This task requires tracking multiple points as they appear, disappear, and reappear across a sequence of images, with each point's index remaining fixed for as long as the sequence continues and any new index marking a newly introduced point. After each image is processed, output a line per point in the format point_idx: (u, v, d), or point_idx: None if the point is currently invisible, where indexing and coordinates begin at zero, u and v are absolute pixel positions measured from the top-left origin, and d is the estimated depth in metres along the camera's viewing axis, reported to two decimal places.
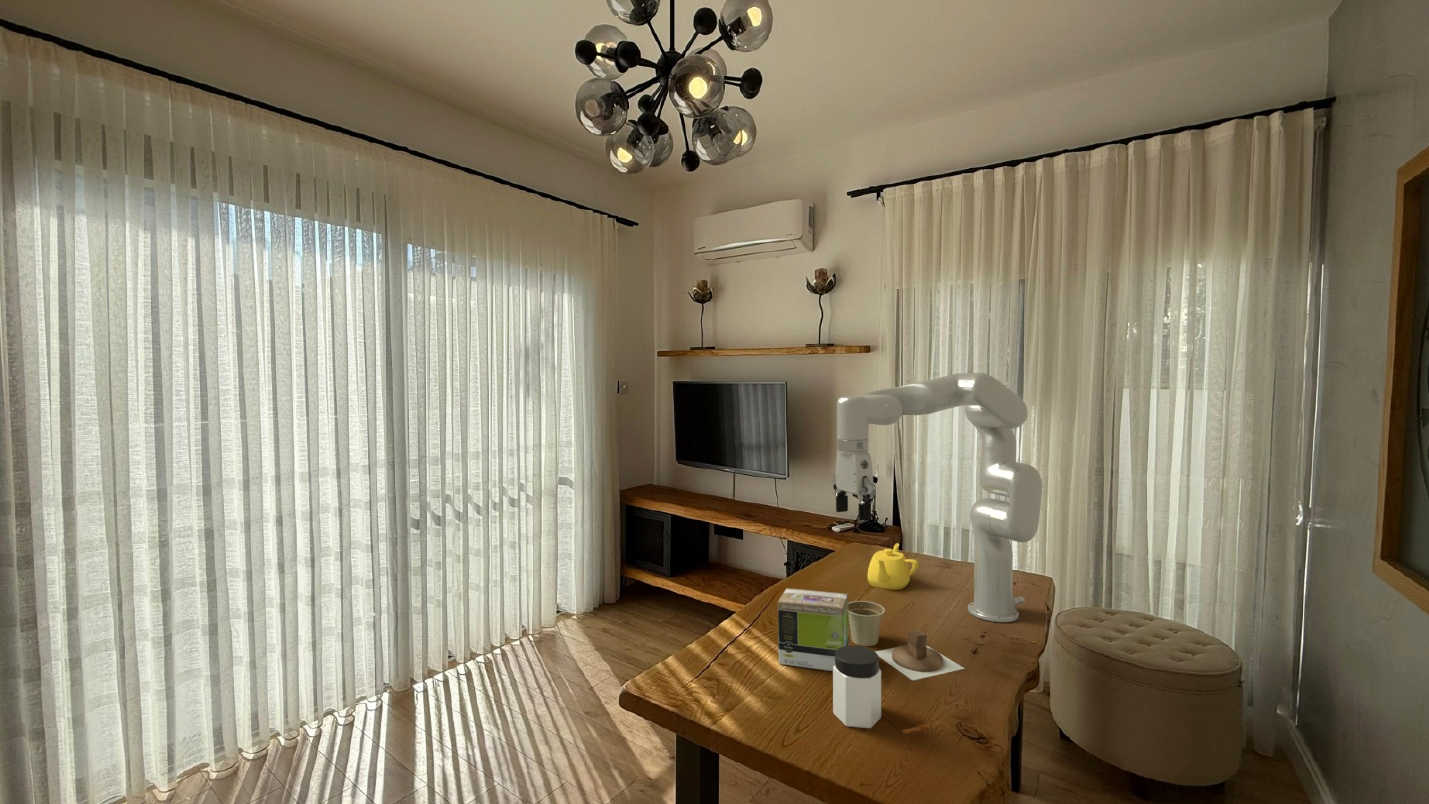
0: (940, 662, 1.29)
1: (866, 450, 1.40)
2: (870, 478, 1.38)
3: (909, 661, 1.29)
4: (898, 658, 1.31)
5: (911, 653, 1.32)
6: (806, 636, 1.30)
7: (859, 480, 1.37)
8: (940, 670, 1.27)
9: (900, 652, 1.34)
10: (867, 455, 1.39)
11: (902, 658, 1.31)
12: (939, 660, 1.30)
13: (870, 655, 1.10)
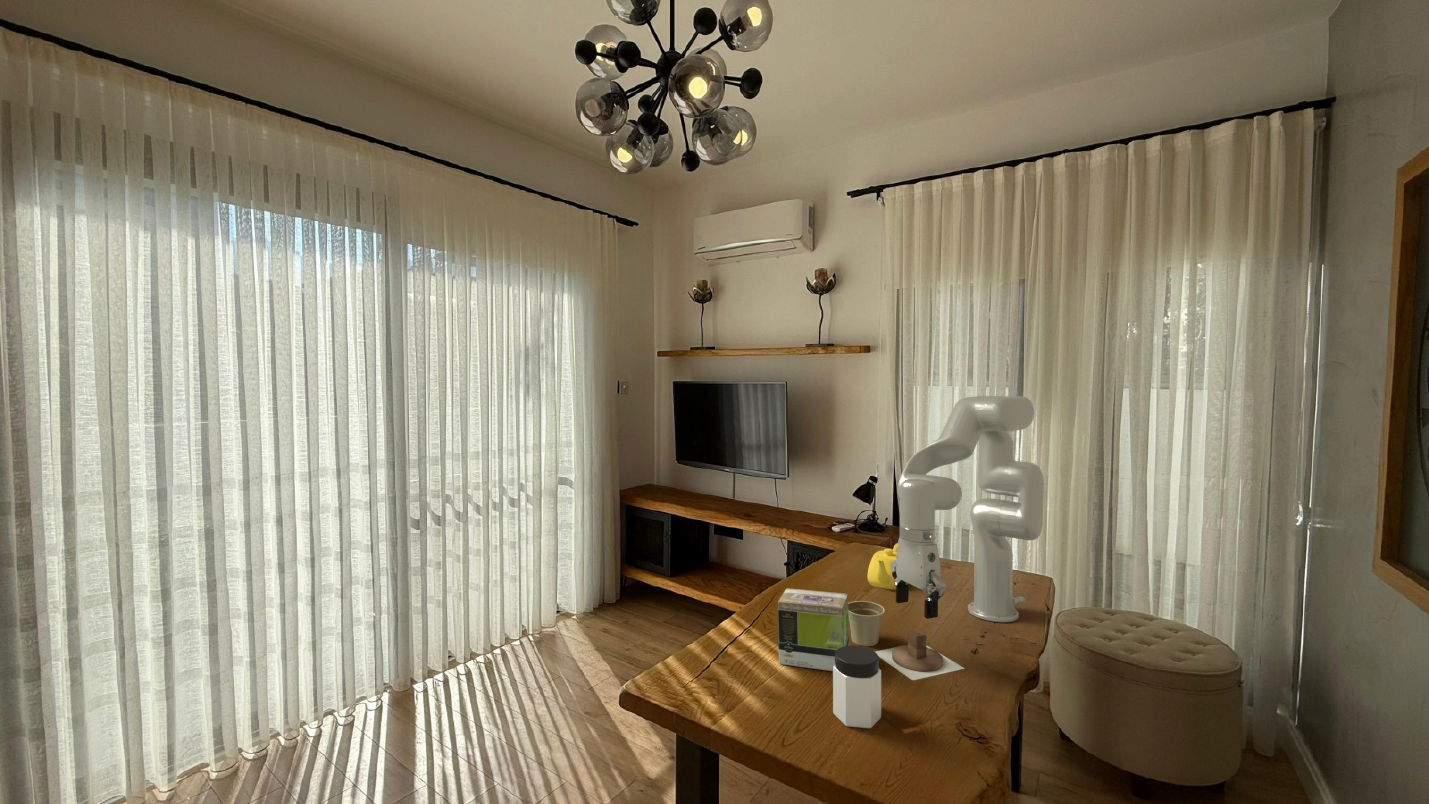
0: (940, 662, 1.29)
1: (933, 540, 1.29)
2: (937, 572, 1.27)
3: (909, 661, 1.29)
4: (898, 658, 1.31)
5: (911, 653, 1.32)
6: (806, 636, 1.30)
7: (926, 574, 1.26)
8: (940, 670, 1.27)
9: (900, 652, 1.34)
10: (934, 547, 1.27)
11: (902, 658, 1.31)
12: (939, 660, 1.30)
13: (870, 655, 1.10)
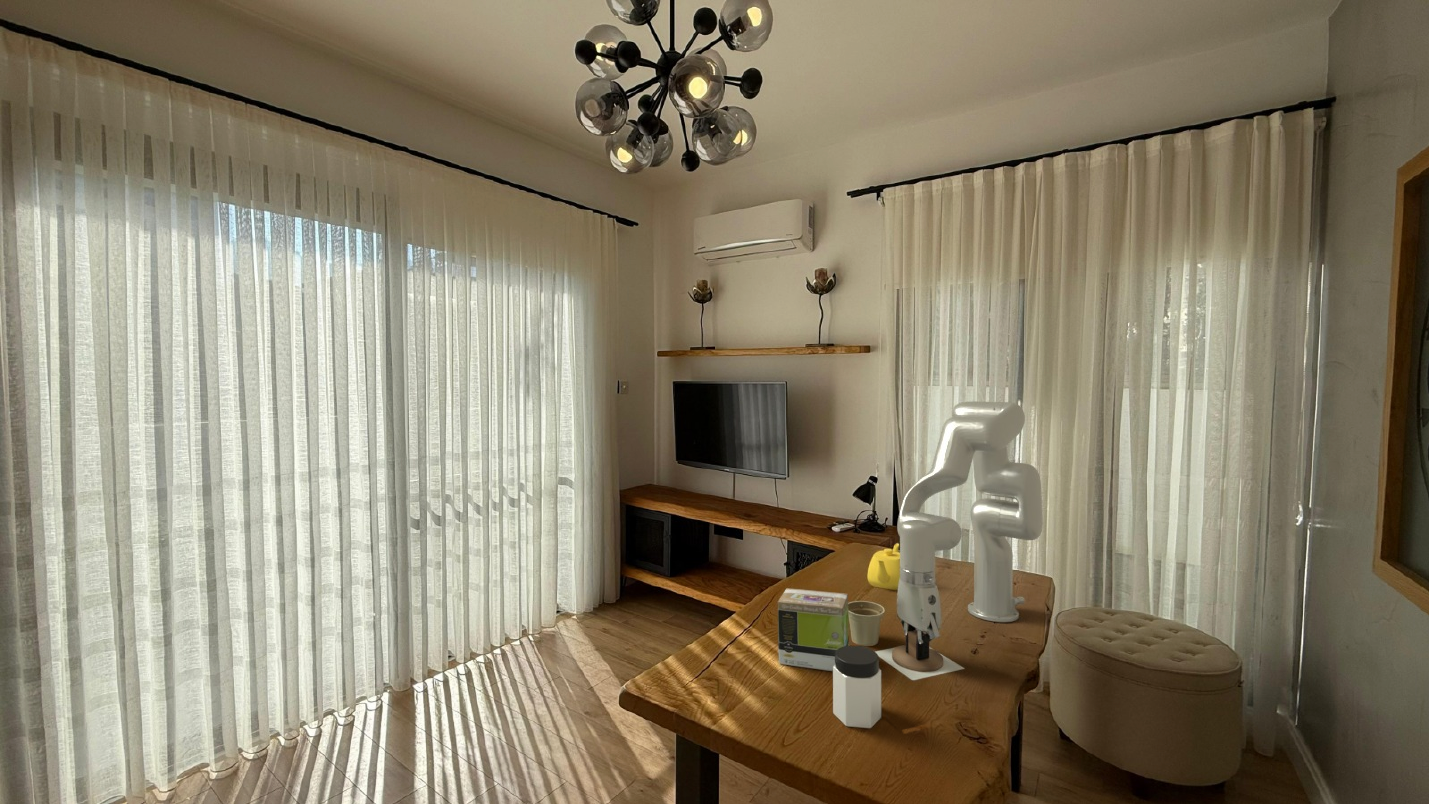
0: (940, 662, 1.29)
1: (933, 582, 1.29)
2: (938, 614, 1.28)
3: (909, 661, 1.29)
4: (898, 658, 1.31)
5: (911, 653, 1.32)
6: (806, 636, 1.30)
7: (927, 617, 1.27)
8: (940, 670, 1.27)
9: (900, 651, 1.34)
10: (935, 589, 1.28)
11: (902, 658, 1.31)
12: (939, 660, 1.30)
13: (870, 655, 1.10)
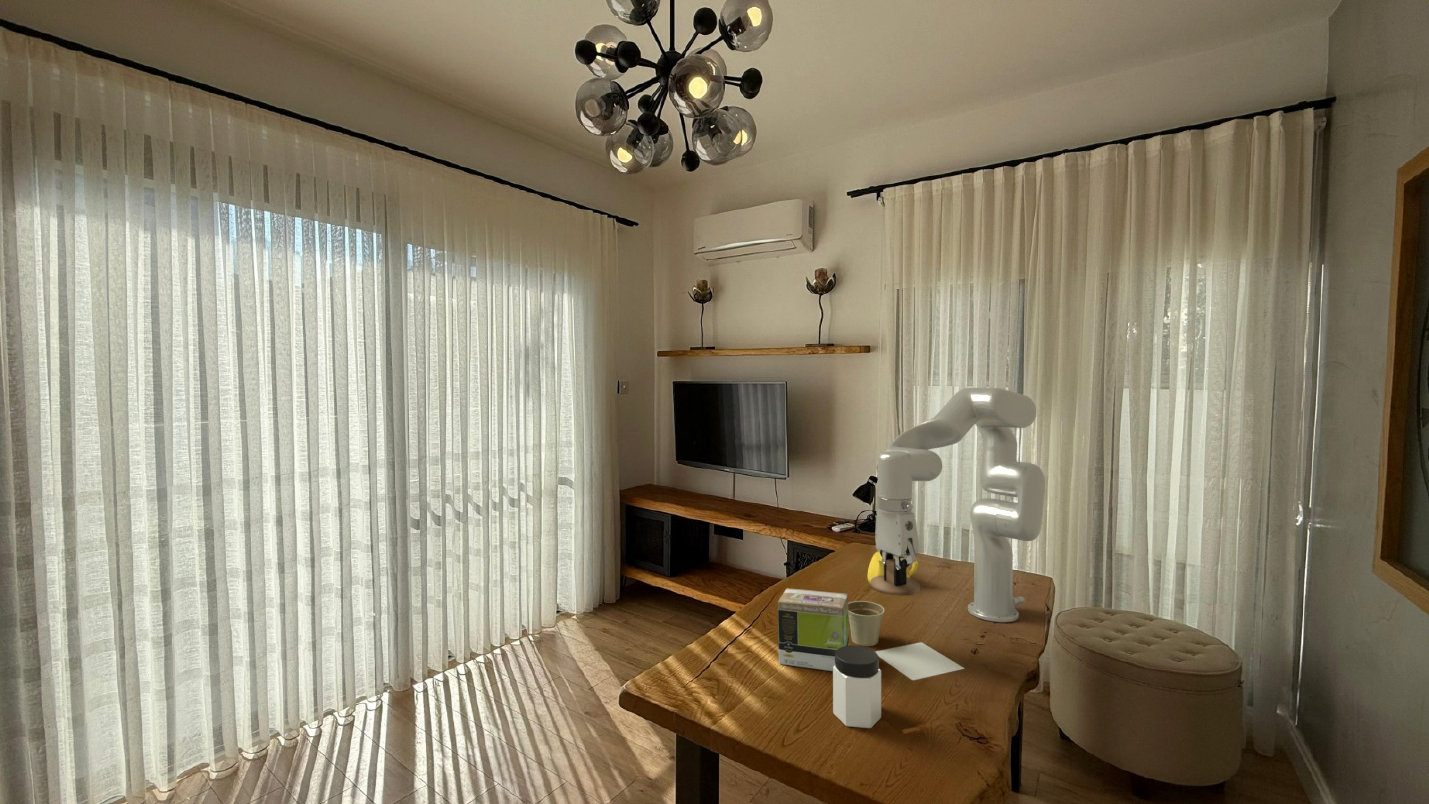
0: (917, 587, 1.33)
1: (910, 510, 1.33)
2: (915, 540, 1.31)
3: (888, 587, 1.33)
4: (877, 585, 1.34)
5: (889, 580, 1.35)
6: (806, 636, 1.30)
7: (904, 542, 1.30)
8: (940, 670, 1.27)
9: (879, 580, 1.38)
10: (912, 515, 1.32)
11: (880, 585, 1.34)
12: (916, 585, 1.34)
13: (870, 655, 1.10)
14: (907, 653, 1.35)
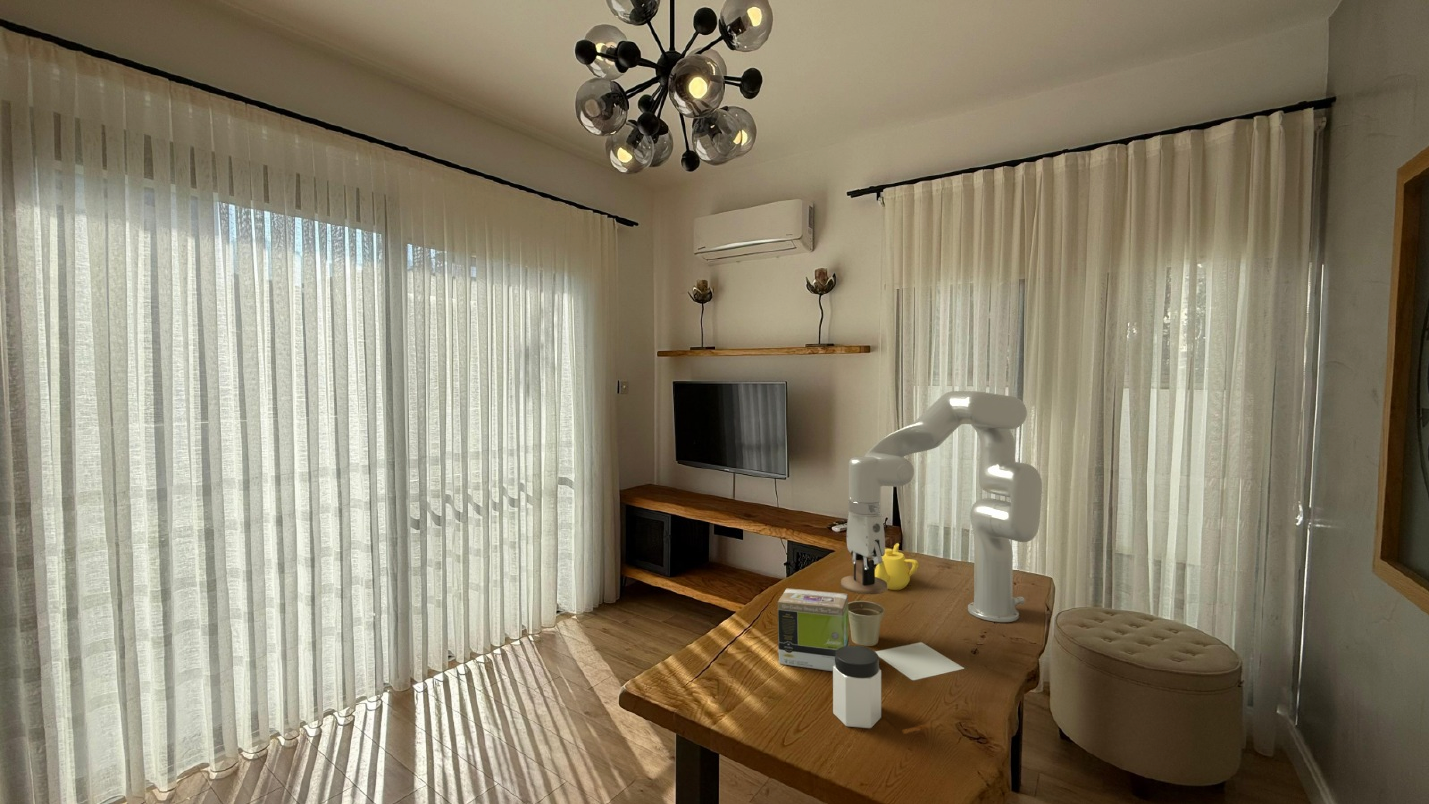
0: (884, 586, 1.39)
1: (878, 513, 1.39)
2: (882, 541, 1.38)
3: (856, 586, 1.39)
4: (845, 584, 1.41)
5: (858, 580, 1.42)
6: (806, 636, 1.30)
7: (871, 544, 1.37)
8: (940, 670, 1.27)
9: (849, 579, 1.44)
10: (879, 518, 1.38)
11: (849, 584, 1.41)
12: (883, 585, 1.40)
13: (870, 655, 1.10)
14: (907, 653, 1.35)
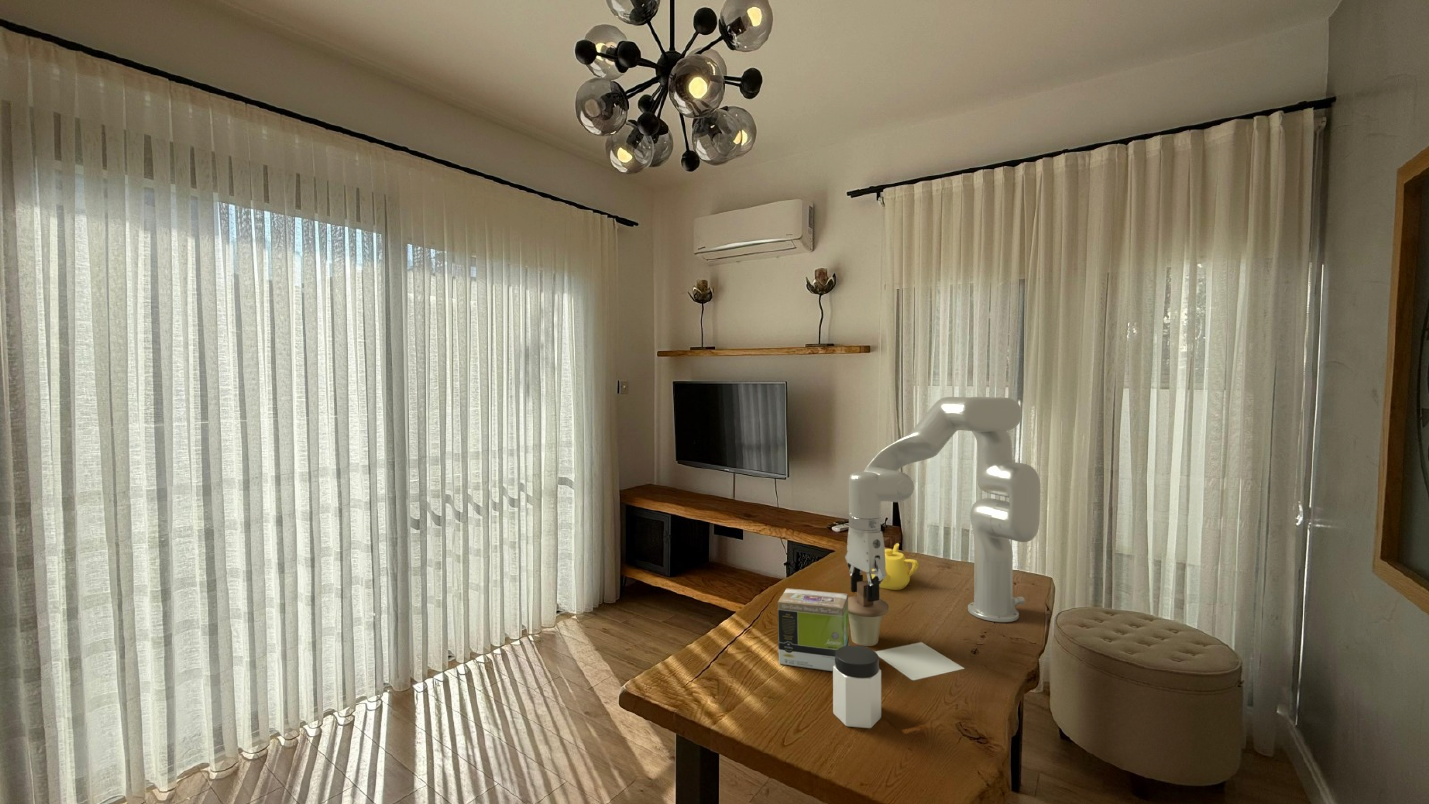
0: (885, 609, 1.39)
1: (878, 528, 1.39)
2: (882, 557, 1.38)
3: (856, 608, 1.40)
4: None
5: (859, 601, 1.42)
6: (806, 636, 1.30)
7: (871, 560, 1.37)
8: (940, 670, 1.27)
9: (850, 601, 1.44)
10: (879, 534, 1.38)
11: (850, 606, 1.41)
12: (884, 607, 1.40)
13: (870, 655, 1.10)
14: (907, 653, 1.35)
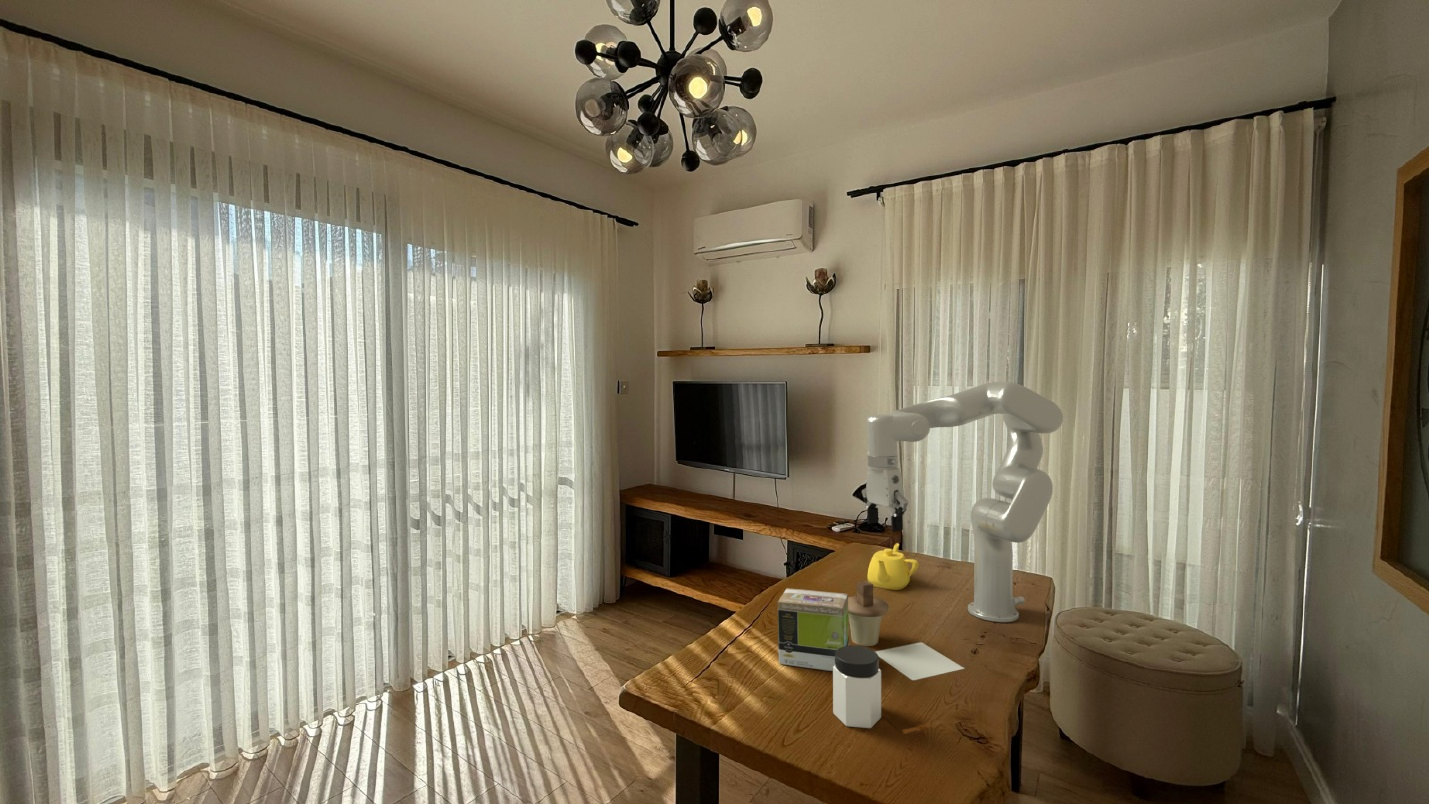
0: (885, 609, 1.39)
1: (896, 465, 1.49)
2: (901, 492, 1.48)
3: (856, 608, 1.40)
4: None
5: (859, 601, 1.42)
6: (806, 636, 1.30)
7: (891, 494, 1.47)
8: (940, 670, 1.27)
9: (850, 601, 1.44)
10: (897, 470, 1.48)
11: (850, 606, 1.41)
12: (884, 607, 1.40)
13: (870, 655, 1.10)
14: (907, 653, 1.35)
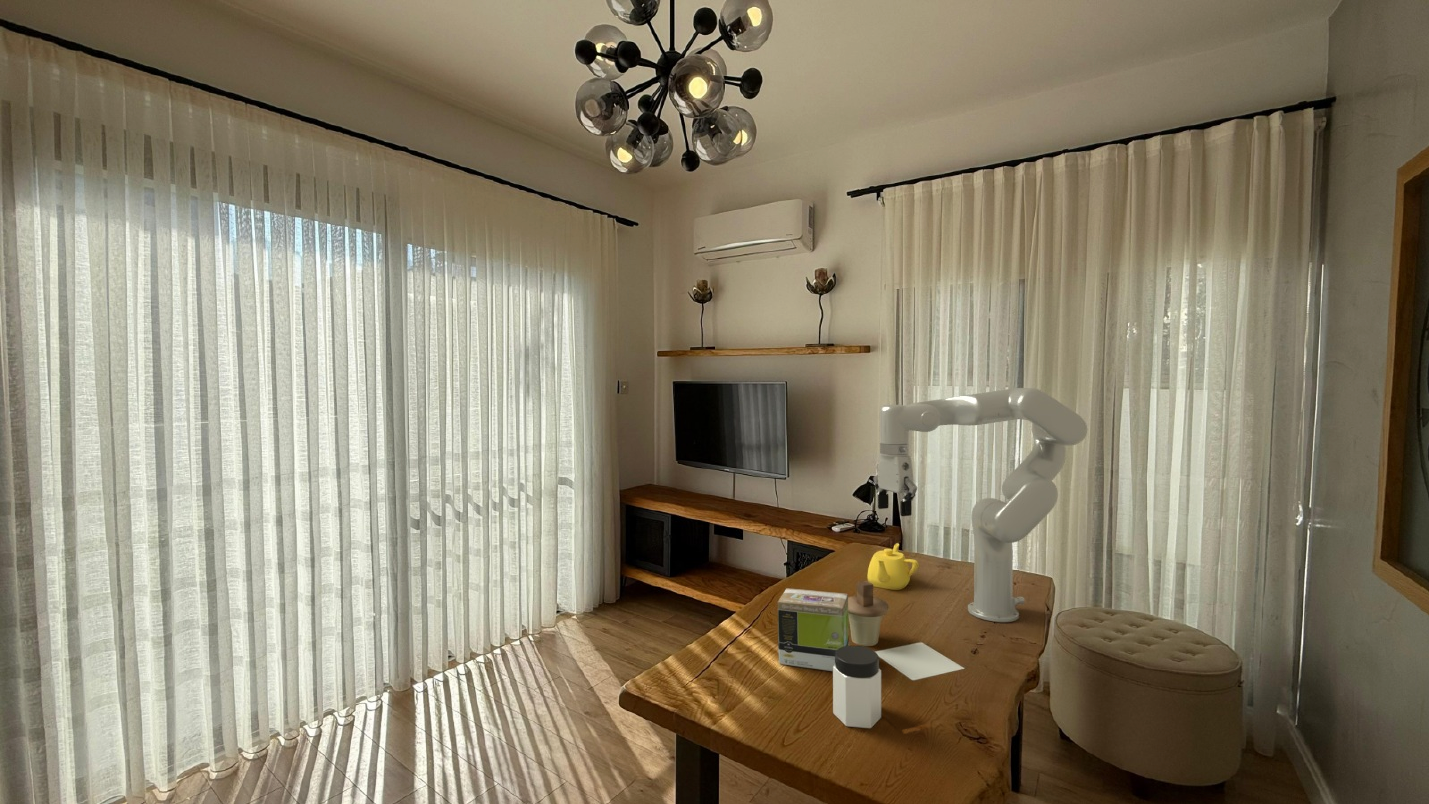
0: (885, 609, 1.39)
1: (907, 453, 1.56)
2: (911, 478, 1.55)
3: (856, 608, 1.40)
4: None
5: (859, 601, 1.42)
6: (806, 636, 1.30)
7: (901, 480, 1.54)
8: (940, 670, 1.27)
9: (850, 601, 1.44)
10: (908, 458, 1.55)
11: (850, 606, 1.41)
12: (884, 607, 1.40)
13: (870, 655, 1.10)
14: (907, 653, 1.35)
